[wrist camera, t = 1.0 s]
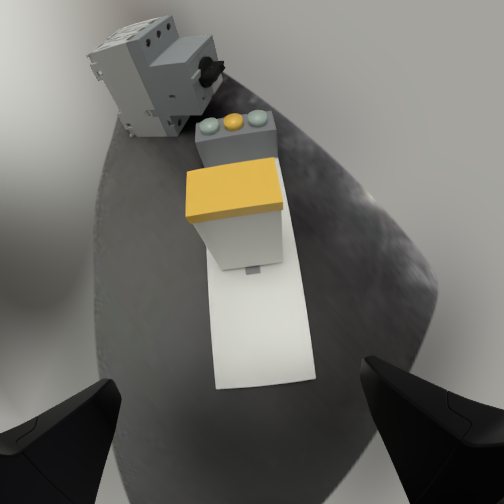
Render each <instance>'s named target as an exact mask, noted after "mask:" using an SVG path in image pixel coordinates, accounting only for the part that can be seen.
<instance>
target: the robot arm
mask: <svg viewBox="0 0 504 504" xmlns="http://www.w3.org/2000/svg"><path fill="white" fill-rule="evenodd" d="M360 380H361V384H362V387H363V390H364V393H365V396H366V399H367V403H368V406H369V409H370V412H371V415H372V417H373V420H374V422H375V424H376V426H377V429H378V431H379V433H380V435H381V437H382V440H383V442H384V444H385V446H386V449H387V451H388V453H389V455H390V457H391V460H392V462H393V465H394V467H395V469H396V472H397V474H398V476H399V479H400V481H401V483H402V486H403V488H404V490H405V493H406V495H407V498H408V500H409V503H410V504H504V410H503V409H499V408H496V407H492V406H489V405H485V404H482V403H479V402H476V401H473V400H470V399H467V398H464V397H462V396H460V395H457V394H455V393H452V392H450V391H447V390H445V389H443V388H441V387H439V386H437V385H434V384H432V383H430V382H428V381H426V380H424V379H422V378H419V377H417V376H415V375H413V374H411V373H409V372H407V371H405V370H403V369H400V368H398V367H396V366H394V365H392V364H390V363H388V362H386V361H384V360H382V359H380V358H378V357H376V356H369V357H365V358H363V359H362V363H361V373H360ZM120 405H121V394H120V392H119V390H118V388H117V386H116V384H115V382H114V381H113V380H112V379H101V380H100V381H98V382H96V383H95V384H93V385H91V386H89V387H88V388H86V389H84V390H83V391H81V392H79V393H77V394H76V395H74V396H72V397H70V398H69V399H67V400H65V401H64V402H62V403H60V404H58V405H56V406H55V407H53V408H51V409H49V410H47V411H46V412H44V413H42V414H40V415H39V416H37V417H35V418H33V419H31V420H29V421H27V422H25V423H23V424H21V425H19V426H17V427H14V428H12V429H10V430H8V431H5V432H3V433H0V504H95V500H96V496H97V492H98V488H99V484H100V481H101V477H102V473H103V469H104V466H105V463H106V460H107V456H108V453H109V450H110V446H111V443H112V440H113V437H114V433H115V429H116V424H117V419H118V415H119V410H120Z"/></svg>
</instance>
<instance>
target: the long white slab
mask: <svg viewBox="0 0 504 504" xmlns="http://www.w3.org/2000/svg"><path fill="white" fill-rule="evenodd" d="M195 144H196V146H197V149H198V152H199V154H200V157H201V160H202V162H203V165H204V167H205V168H208V167H214V166H220V165H225V164H231V163H237V162H244V161H250V160H257V159H265V158H272V157H274V159H275V164H276V169H277V174H278V178H279V183H280V188H281V194H282V199H283V210H281V216H282V247H283V262H279V263H272V264H264V265H257V266H250V267H242V268H235V269H227V270H221V269H220V267H219V265H218V264H217V262H216V261H215V259H214V257H213V256H212V254H211V253H210V251H209V249H208V248H207V270H208V290H209V307H210V323H211V337H212V350H213V362H214V373H215V384H216V389H229V388H244V387H256V386H266V385H275V384H283V383H291V382H298V381H304V380H311V379H316V376H315V368H314V360H313V352H312V345H311V338H310V331H309V324H308V317H307V311H306V304H305V298H304V291H303V285H302V279H301V273H300V267H299V262H298V256H297V250H296V245H295V239H294V234H293V229H292V223H291V218H290V213H289V208H288V203H287V198H286V193H285V188H284V184H283V179H282V174H281V169H280V165H279V160H278V150H277V134H276V127H275V123H274V119H273V115H272V111H266V112H265V111H262V110H254V111H252V112H250V113H249V114H244V115H240V114H236V113H234V114H229V115H227V116H226V117H225V118H220V119H216V118H207V119H205V120H203V121H202V122H200V123H196V134H195Z"/></svg>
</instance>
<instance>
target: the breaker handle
mask: <svg viewBox="0 0 504 504" xmlns="http://www.w3.org/2000/svg"><path fill="white" fill-rule="evenodd" d="M281 210H283V199H282V194H281V188H280V183H279V178H278V174H277V169H276V164H275V159H274V157H272V158H265V159H257V160H250V161H244V162H237V163H231V164H225V165H220V166H214V167H208V168H203V169H198V170H193V171H188V172H187V188H186V218H187V220H188V221H189V223H190V224H193V225H194V227H195V228H196V230H197V232H198V233H199V235H200V236H201V238H202V240H203V241H204V243H205V245H206V246H207V248H208V249H209V251H210V253H211V254H212V256H213V257H214V259H215V261H216V262H217V264H218V265H219V267H220V269H221V270H227V269H235V268H242V267H250V266H257V265H264V264H272V263H279V262H283V247H282V216H281Z"/></svg>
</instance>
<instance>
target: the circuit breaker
mask: <svg viewBox="0 0 504 504" xmlns="http://www.w3.org/2000/svg"><path fill="white" fill-rule="evenodd" d="M86 56H87V57H90V59H91V62H92V64H91V65H90V66H91V69H92V71H93V72H94V74H95V76H96V78H97V80H98V81H100V80H104V82H105V84H106V86H107V88H108V90H109V91H110V93H111V95H112V97H113V99H114V100H115V102H116V104H117V106H118V108H119V110H120V112H119V113H118V114H117V115H118V117H119V119H120V121H121V122H122V124H123V126H124V127H125V129H126V130H129V132H130V135H129V136H130V137H133V136H134V135H136V136H137V137H178V135H179V134H180V132H181V130H182V129H183V127H184V125H185V124H186V122H187V120H188V119H189V117H190V115H202V114H203V112H204V110H205V109H206V107H207V105H208V104H209V102H210V100H211V99H212V97H211V96H214V94H215V92H216V91H217V89H218V88H219V86H220V85H221V83H222V81H223V80H222V75H221V72H223V71H224V69H225V67H224V65H223V64H224V61H218V58H217V54H216V49H215V45H214V40H213V37H212V35H202V36H193V37H185V38H179V36H178V33H177V30H176V27H175V23H174V20H173V17H172V15H168V16H163V17H159V18H154V19H150V20H147V21H143V22H139V23H136V24H132V25H129V26H127V27H124V28H120V29H119V30H118V31H116V32H115V33H114V34H112V35H111V36H110V37H108V38H107V41H104V42H102V43H101V44H100V45H98V46H97V47H96V48H95V49H93V50H92V51H91V52H90V53H89V54H87V55H86ZM98 71H102V73H103V74H101V75H99V73H98ZM127 123H130V125H131V126H128V125H127Z"/></svg>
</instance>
